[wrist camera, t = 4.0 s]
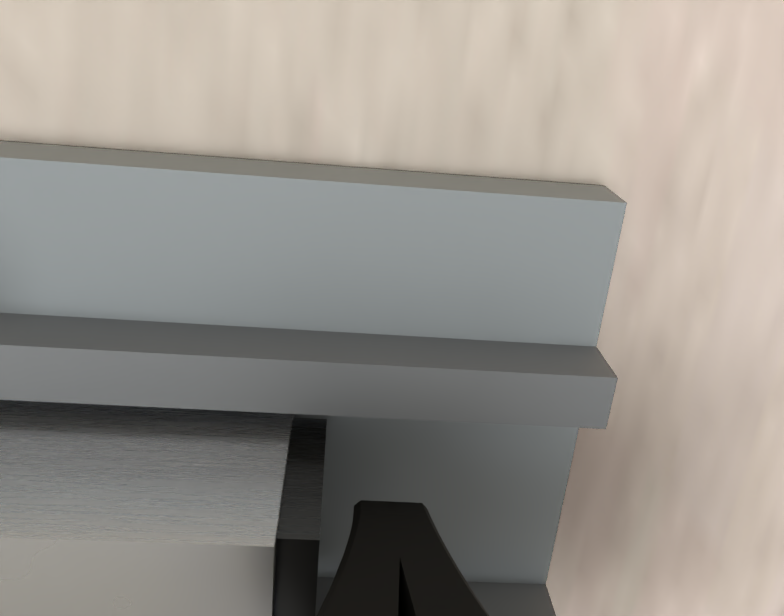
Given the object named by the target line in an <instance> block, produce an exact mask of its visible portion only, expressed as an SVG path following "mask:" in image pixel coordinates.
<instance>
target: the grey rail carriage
mask: <svg viewBox="0 0 784 616" xmlns="http://www.w3.org/2000/svg"><path fill="white" fill-rule="evenodd" d="M326 425H327V419H314V418H294V414H285V413H264V412H244V411H223V410H202V409H181V408H161V407H140V406H119V405H98V404H78V403H57V402H36V401H15V400H0V616H315V609H316V592H317V576H318V559H319V543H320V526H321V509H322V492H323V475H324V458H325V441H326Z"/></svg>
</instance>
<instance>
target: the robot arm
mask: <svg viewBox="0 0 784 616" xmlns="http://www.w3.org/2000/svg"><path fill="white" fill-rule="evenodd" d="M317 616H489V614H488V613H487V612H486V610H485V609H484V607H483V606H482V604H481V603H480V601H479V600H478V599H477V597H476V596H475V594H474V592H473V591H472V589H471V588H470V586H469V585H468V583H467V581H466V580H465V578H464V577H463V575H462V573H461V572H460V570H459V569H458V567H457V565H456V563H455V562H454V560H453V558H452V557H451V555H450V553H449V551H448V549H447V548H446V546H445V544H444V542H443V540H442V538H441V536H440V535H439V533H438V531H437V529H436V527H435V525H434V522H433V520H432V518H431V516H430V514H429V512H428V509H427V508H426V507H425V506H424V505H423V503H414V502H391V501H368V500H361V501H359V502H358V503H356V504H355V505H354V510H353V522H352V527H351V532H350V535H349V539H348V542H347V545H346V548H345V552H344V554H343V557H342V560H341V562H340V565H339V567H338V570H337V572H336V575H335V577H334V580H333V582H332V585H331V587H330V589H329V591H328V593H327V595H326V597H325V599H324V602H323V604H322V606H321V608H320V610H319V612H318V614H317Z"/></svg>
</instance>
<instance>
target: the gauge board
mask: <svg viewBox="0 0 784 616" xmlns="http://www.w3.org/2000/svg"><path fill="white" fill-rule="evenodd" d="M626 204H627V203H626V202H625V201H624V200H622V199H621V198H620V197H619V196H617V195H616V194H615V193H613V192H612V191H611V190H610V189H608V188H607V187H606V186H601V185H588V184H575V183H561V182H548V181H534V180H521V179H507V178H494V177H481V176H467V175H454V174H440V173H427V172H413V171H400V170H386V169H373V168H360V167H346V166H333V165H319V164H306V163H292V162H279V161H266V160H252V159H239V158H225V157H212V156H198V155H185V154H172V153H158V152H145V151H131V150H118V149H104V148H91V147H77V146H64V145H51V144H37V143H24V142H10V141H0V400H15V401H36V402H57V403H78V404H98V405H119V406H140V407H161V408H181V409H202V410H223V411H244V412H264V413H285V414H294V418H314V419H327V425H326V441H325V458H324V475H323V492H322V509H321V526H320V543H319V559H318V576H317V592H316V609H315V616H317V614H318V612H319V610H320V608H321V606H322V604H323V602H324V599H325V597H326V595H327V593H328V591H329V589H330V587H331V585H332V582H333V580H334V577H335V575H336V572H337V570H338V567H339V565H340V562H341V560H342V557H343V554H344V552H345V548H346V545H347V542H348V539H349V535H350V532H351V527H352V522H353V510H354V505H355V504H356V503H358V502H359V501H361V500H368V501H391V502H414V503H423V505H424V506H425V507H426V508H427V509H428V512H429V514H430V516H431V518H432V520H433V522H434V525H435V527H436V529H437V531H438V533H439V535H440V536H441V538H442V540H443V542H444V544H445V546H446V548H447V549H448V551H449V553H450V555H451V557H452V558H453V560H454V562H455V563H456V565H457V567H458V569H459V570H460V572H461V573H462V575H463V577H464V578H465V580H466V581H467V583H468V585H469V586H470V588H471V589H472V591H473V592H474V594H475V596H476V597H477V599H478V600H479V601H480V603H481V604H482V606H483V607H484V609H485V610H486V612H487V613H488V614H489V616H556V615H555V612H554V609H553V605H552V602H551V599H550V596H549V593H548V590H547V587H546V580H547V575H548V570H549V566H550V561H551V556H552V552H553V547H554V542H555V537H556V533H557V528H558V523H559V519H560V514H561V509H562V505H563V500H564V495H565V491H566V486H567V481H568V476H569V472H570V467H571V462H572V458H573V453H574V448H575V444H576V439H577V434H578V430H579V428H596V429H606V426H607V422H608V418H609V413H610V409H611V405H612V400H613V396H614V392H615V387H616V383H617V376H616V375H615V373H614V372H613V371H612V369H611V368H610V366H609V365H608V363H607V362H606V360H605V359H604V357H603V356H602V354H601V353H600V352H599V350H598V349H597V347H596V345H597V340H598V336H599V331H600V326H601V322H602V317H603V312H604V307H605V303H606V298H607V293H608V289H609V284H610V279H611V275H612V270H613V265H614V260H615V256H616V251H617V246H618V242H619V237H620V232H621V228H622V223H623V218H624V214H625V209H626Z"/></svg>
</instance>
